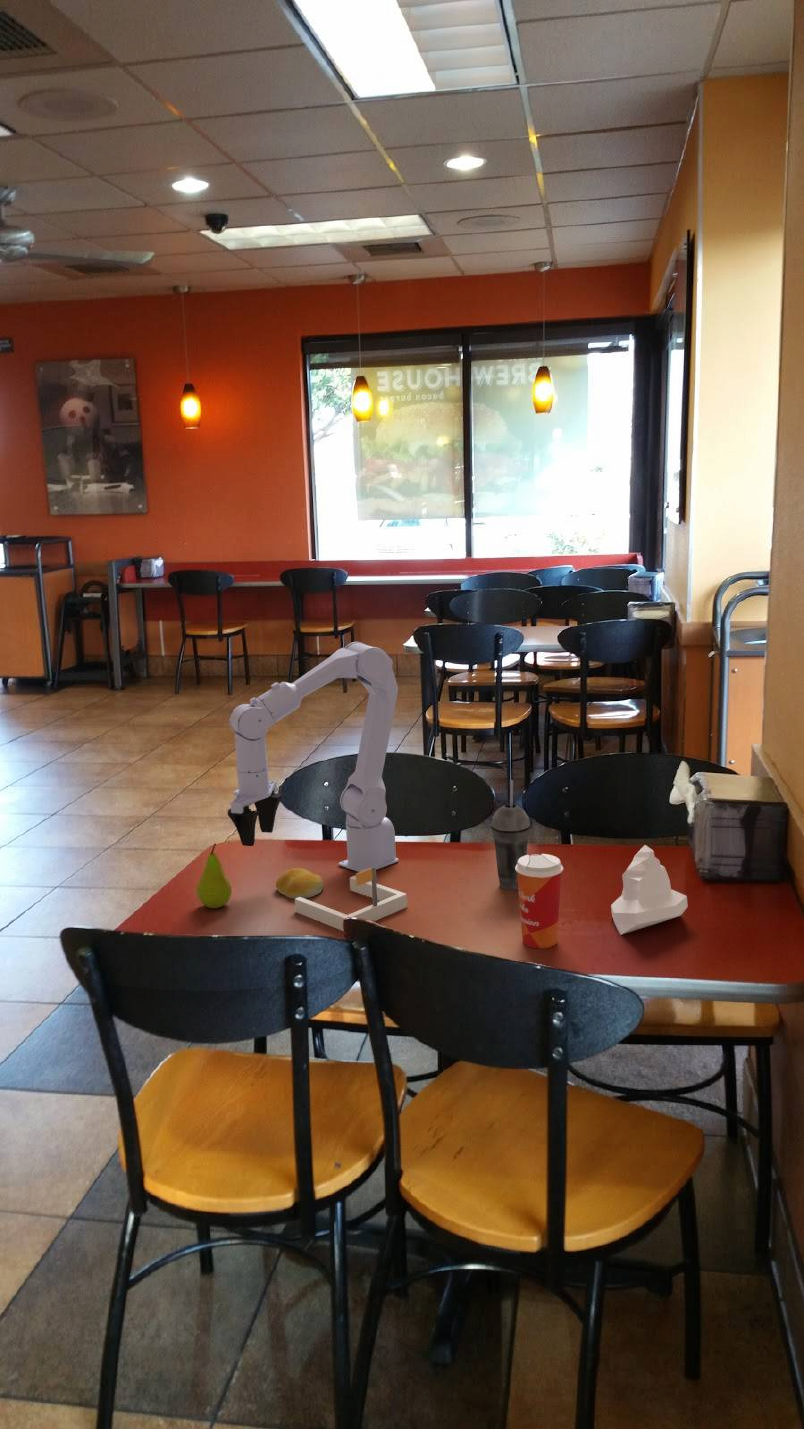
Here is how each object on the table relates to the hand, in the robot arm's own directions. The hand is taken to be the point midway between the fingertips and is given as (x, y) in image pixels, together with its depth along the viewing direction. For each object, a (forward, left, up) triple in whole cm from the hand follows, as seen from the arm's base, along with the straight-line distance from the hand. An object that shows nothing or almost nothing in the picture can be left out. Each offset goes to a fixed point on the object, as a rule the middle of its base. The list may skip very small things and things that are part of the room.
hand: (257, 838), depth 201 cm
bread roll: (-3, +7, -10) cm, 13 cm away
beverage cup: (-30, +36, -10) cm, 48 cm away
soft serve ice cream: (-31, +64, -10) cm, 72 cm away
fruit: (+12, +1, -10) cm, 15 cm away
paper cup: (-14, +55, -10) cm, 58 cm away
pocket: (-3, +21, -10) cm, 24 cm away
